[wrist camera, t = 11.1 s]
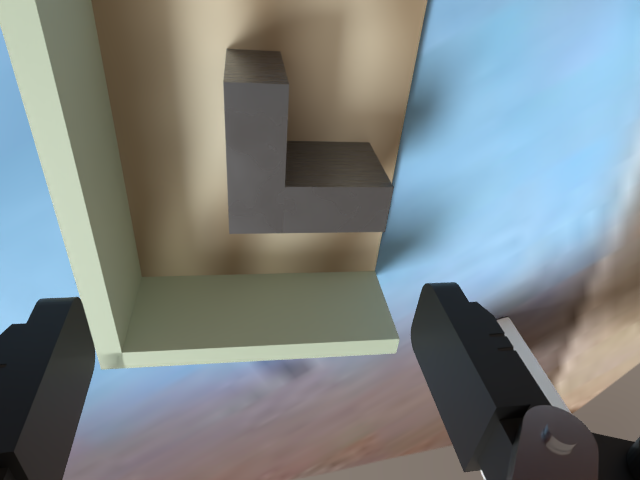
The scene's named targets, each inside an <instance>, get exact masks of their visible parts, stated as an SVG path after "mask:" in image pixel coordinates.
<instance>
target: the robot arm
mask: <svg viewBox="0 0 640 480" xmlns="http://www.w3.org/2000/svg"><path fill="white" fill-rule="evenodd" d="M504 334H505V333H504V331H503V330H502V328H501V327H500V325H499V323H498V322H497V320H496V319H495V317H494V316H493V315H492V314H491V313H489V312H488V311H487V310H486V309H485V308H483V307H482V306H481V305H480V304H479V303H478V302H469V301H468V300H467V298H466V296H465V295H464V293H463V291H462V290H461V288H460V287H459V285H458V284H457V283H454V282H451V283H427V284H425V285H424V286H423V288H422V291H421V294H420V298H419V301H418V305H417V308H416V312H415V315H414V319H413V323H412V326H411V342H412V347H413V350H414V353H415V355H416V358H417V360H418V363H419V365H420V367H421V370H422V372H423V375H424V377H425V379H426V382H427V384H428V387H429V389H430V391H431V394H432V396H433V399H434V401H435V403H436V406H437V408H438V411H439V413H440V415H441V418H442V420H443V423H444V425H445V428H446V430H447V432H448V435H449V437H450V440H451V442H452V444H453V447H454V449H455V452H456V454H457V456H458V459H459V461H460V463H461V466H462V468H463V471H464V472H470V471H478V470H482V472H483V474H484V476H485V478H486V480H640V437H639V438H638V439H637V440H636V442H632V441H627V440H623V439H618V438H614V437H609V436H604V435H600V434H595V433H592V432H591V431H590V430H589V429H588V428H587V427H586V425H585V424H584V423H583V422H582V421H580V420H579V419H578V418H577V417H575V416H574V415H572V414H571V413H569V412H567V411H565V410H563V409H561V408H558V407H554V406H552V405H551V404H550V402H549V401H548V399H547V398H546V396H545V395H544V393H543V392H542V390H541V388H540V387H539V385H538V384H537V382H536V381H535V379H534V378H533V376H532V375H531V373H530V371H529V370H528V368H527V367H526V365H525V364H524V362H523V361H522V359H521V357H520V356H519V354H518V353H517V351H516V350H514V349H513V345H512V344H511V342H510V340H509V339H508V337H507V336H505V335H504ZM94 365H95V347H94V342H93V338H92V335H91V331H90V328H89V324H88V321H87V317H86V314H85V310H84V307H83V303H82V301H81V299H80V298H79V297H69V298H45V299H40V300H38V302H37V303H36V305H35V307H34V309H33V311H32V313H31V315H30V317H29V319H28V321H27V323H26V324H12V325H11V326H9V327H8V328H7V329H6V330H5V331H4V332H3V333H2V334H1V335H0V480H62V479H63V475H64V472H65V468H66V465H67V461H68V458H69V454H70V451H71V447H72V444H73V440H74V437H75V433H76V430H77V427H78V423H79V420H80V416H81V413H82V409H83V406H84V402H85V399H86V395H87V392H88V388H89V385H90V381H91V378H92V374H93V371H94Z"/></svg>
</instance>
